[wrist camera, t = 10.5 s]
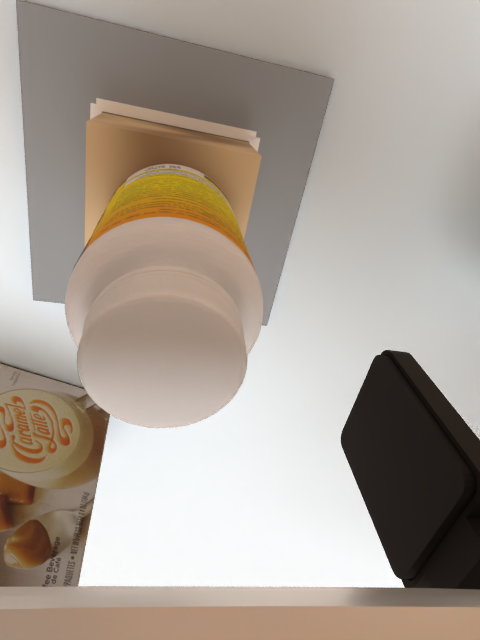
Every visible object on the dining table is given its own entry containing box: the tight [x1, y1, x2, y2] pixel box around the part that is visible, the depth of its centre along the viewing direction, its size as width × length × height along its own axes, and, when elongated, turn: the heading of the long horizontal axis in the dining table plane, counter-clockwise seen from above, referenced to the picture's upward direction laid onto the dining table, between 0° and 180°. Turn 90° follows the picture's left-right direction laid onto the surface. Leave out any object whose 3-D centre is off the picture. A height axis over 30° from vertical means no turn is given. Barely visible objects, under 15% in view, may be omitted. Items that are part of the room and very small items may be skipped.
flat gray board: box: [16, 0, 334, 326], centre depth 22 cm, size 14×14×1 cm
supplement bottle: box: [65, 164, 263, 428], centre depth 14 cm, size 6×6×10 cm
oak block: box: [85, 113, 262, 246], centre depth 20 cm, size 7×7×4 cm
